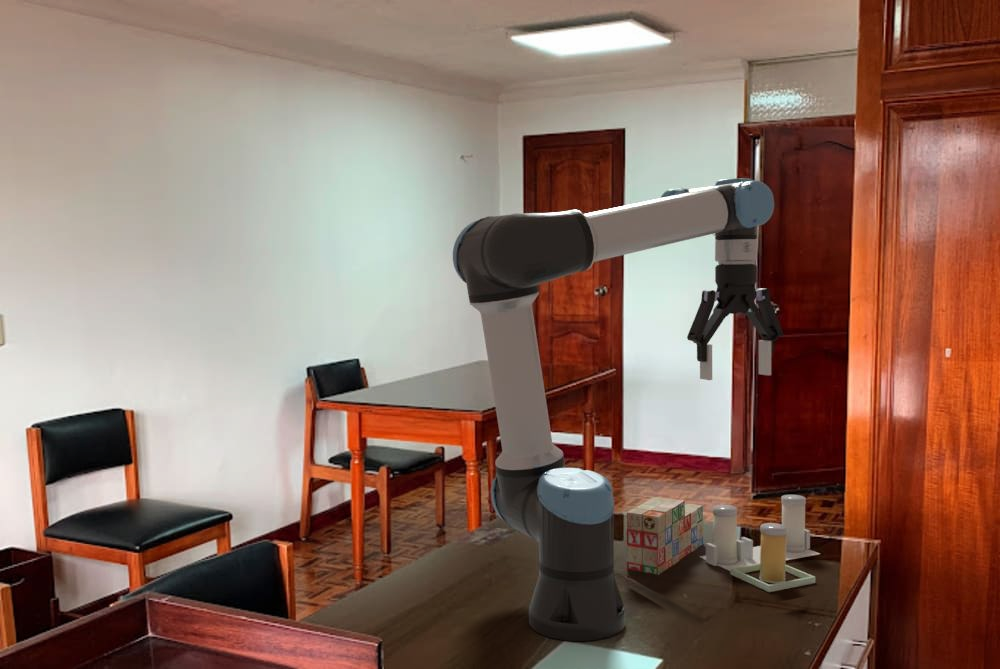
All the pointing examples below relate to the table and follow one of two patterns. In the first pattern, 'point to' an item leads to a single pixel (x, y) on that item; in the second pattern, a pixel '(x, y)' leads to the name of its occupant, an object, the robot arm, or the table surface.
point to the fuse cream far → (794, 521)
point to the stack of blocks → (662, 534)
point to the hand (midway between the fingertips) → (735, 377)
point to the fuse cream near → (725, 533)
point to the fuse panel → (752, 553)
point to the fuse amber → (773, 552)
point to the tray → (804, 580)
